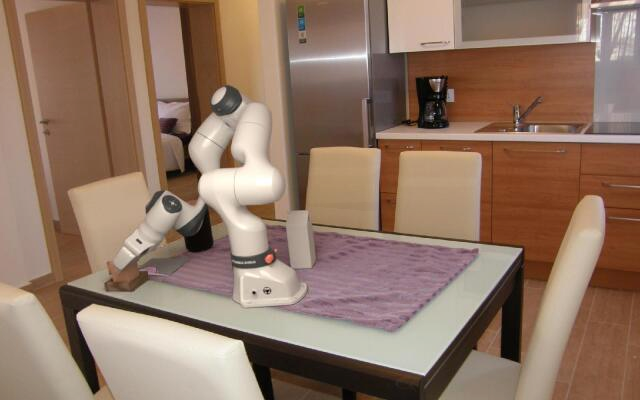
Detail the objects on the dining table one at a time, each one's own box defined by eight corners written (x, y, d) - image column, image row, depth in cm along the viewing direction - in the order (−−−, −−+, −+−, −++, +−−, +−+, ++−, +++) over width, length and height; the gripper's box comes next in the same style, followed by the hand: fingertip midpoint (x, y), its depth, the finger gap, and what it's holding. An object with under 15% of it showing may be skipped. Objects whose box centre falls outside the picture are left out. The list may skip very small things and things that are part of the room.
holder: (149, 279, 196) (147, 271, 195) (132, 291, 186) (131, 283, 185) (123, 279, 198) (121, 271, 197) (106, 291, 189) (104, 283, 188)
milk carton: (311, 268, 190) (305, 213, 185) (290, 269, 192) (284, 214, 187) (316, 260, 197) (310, 207, 192) (296, 261, 198) (289, 208, 194)
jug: (140, 282, 194) (135, 256, 192) (130, 289, 189) (125, 263, 186) (117, 281, 197) (112, 257, 194) (107, 289, 191) (101, 263, 189)
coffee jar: (185, 246, 227) (177, 202, 222) (212, 241, 230) (205, 197, 225) (187, 254, 217) (179, 208, 212) (215, 249, 220) (208, 203, 215)
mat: (190, 259, 212) (190, 258, 212) (169, 276, 197) (169, 275, 197) (152, 259, 216) (151, 258, 216) (128, 276, 201) (127, 274, 201)
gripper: (156, 221, 195) (136, 249, 200) (122, 241, 176) (100, 271, 181) (170, 233, 195) (149, 261, 200) (137, 255, 176) (115, 285, 181)
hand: (126, 266), depth 190 cm, fingers open, 8 cm apart
